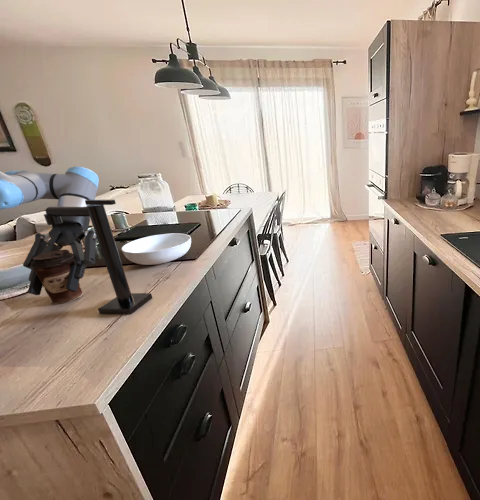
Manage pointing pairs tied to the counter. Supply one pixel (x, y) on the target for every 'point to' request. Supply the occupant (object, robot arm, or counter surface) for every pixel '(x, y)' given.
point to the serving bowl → (157, 248)
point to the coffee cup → (56, 274)
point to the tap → (104, 254)
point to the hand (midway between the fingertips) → (52, 291)
